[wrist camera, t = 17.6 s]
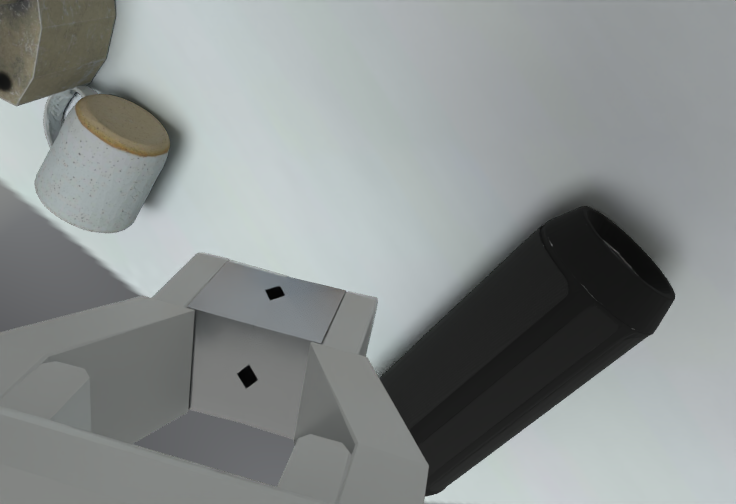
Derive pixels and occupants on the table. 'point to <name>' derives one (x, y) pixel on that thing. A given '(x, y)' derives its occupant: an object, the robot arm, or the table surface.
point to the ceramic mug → (99, 160)
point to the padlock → (51, 45)
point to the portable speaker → (526, 340)
